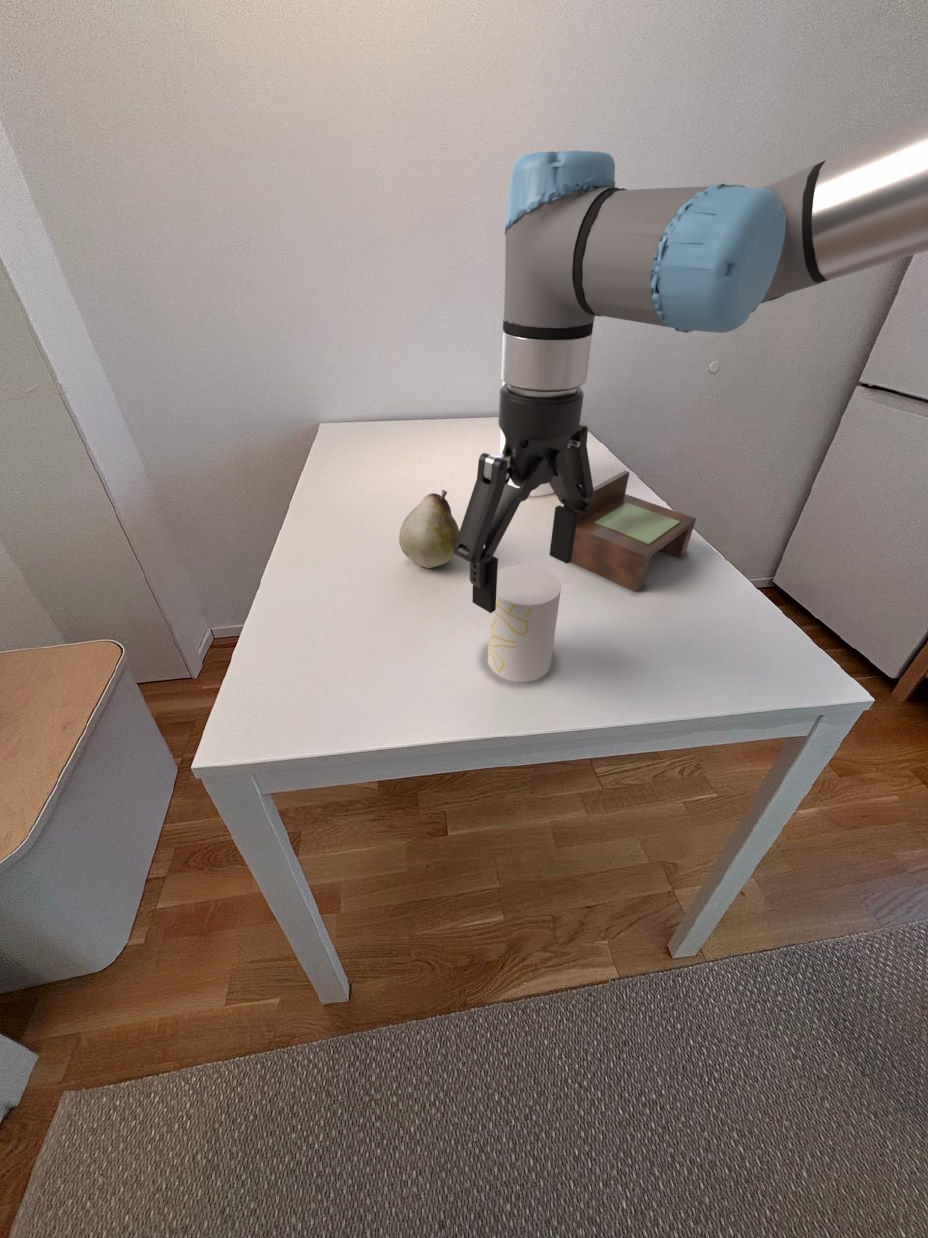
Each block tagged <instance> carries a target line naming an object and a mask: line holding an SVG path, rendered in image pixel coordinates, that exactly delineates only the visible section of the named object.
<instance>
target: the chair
mask: <svg viewBox="0 0 928 1238" xmlns="http://www.w3.org/2000/svg"><path fill="white" fill-rule="evenodd" d="M629 477H630V471H627V470H623V471H621V472H619V473H618V474H617V473H616V474H615V475H614V476H612V477H610V478H608V479H606V480H604V481H602V482H601V483H599V484H597V485H595V486H593V489H594V495H593V497H592V499H591V500H587V499H586V500H585V502H588V503H589V504H590V506H589V509H588V511H587V512H586V513H584V512H581V511H579V514H578V520H577V527H576V532H575V538H574V545H573V551H572V558H571V562H570V563H572V564H574V565H576V566H578V567H580V568H583V569H585V570H587V571H589V572H592V573H593V574H595V575H598V576H601V577H602V578H604V579H606V580H609V581H611V582H613V583H615V584H617V585H619V586H622V587H623V588H626V589H628V590H631V591H633V592H635V593H637V592H639V591H640V590H641V589H642V588H643V587H644V585H645V580H646V576H647V573H648V569H649V566H650V561H651V558H652V556H654V555H655V554H656V553H657V552H659V551H663V552H665V553H668V554H670V555H674V556H676V557H678V558H681V557H682V556H684V555H685V554H686V553H687V549H688V546H689V543H690V540H691V537H692V534H693V530H694V527H695V524H696V520H697V518H696V517H693V516H691V515H688V514H685V513H682V512H679V511H676V510H673V509H670V508H667V507H664V506H662V505H658V504H656V503H653V502H651V501H647V500H644V499H641V498H638V497H635V496H633V495H630V494H627V493H626V492H627V488H628V487H627V486H628V482H629Z"/></svg>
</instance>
